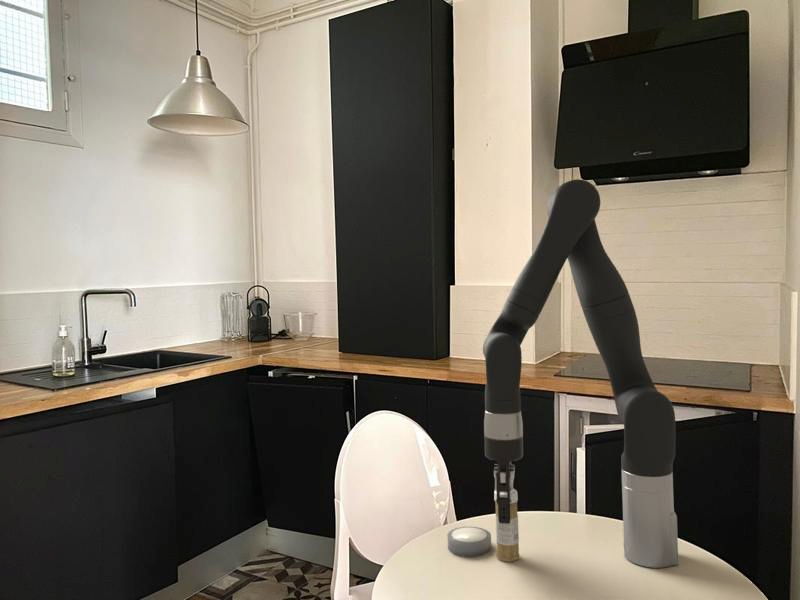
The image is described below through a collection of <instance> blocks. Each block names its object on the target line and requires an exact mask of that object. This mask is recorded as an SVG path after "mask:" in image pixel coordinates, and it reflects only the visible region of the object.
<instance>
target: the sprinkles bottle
mask: <svg viewBox="0 0 800 600" xmlns="http://www.w3.org/2000/svg"><path fill="white" fill-rule="evenodd" d="M493 494H494V495H493V496H494V498H493V500H494V503H495V536H496V551H497V552H496V557H497V559H499V560H500V561H502V562H508V563H509V562H515V561H517V560H519V559H520V550H519V549H520V547H519V545H520V544H519V540H520V536H519V532H520V531H519V516H518V500H519V499H518V497H519V495H518V491H517V490H516V489H515V488H513V492H512V493H511V494H510V500H511V502H510V523H509V524H505V523H499V518H498V504H497V502H496V499H497V492H496V491H495V490H494V492H493ZM500 497H506V498H507V493H505V492H501V493H500Z"/></svg>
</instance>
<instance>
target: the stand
mask: <svg viewBox="0 0 800 600" xmlns="http://www.w3.org/2000/svg"><path fill="white" fill-rule="evenodd" d="M446 536H447V549H448V551H449V552H450V553H451V554H454V555H456V556H461V557H467V558H470V557H471V558H473V557H479V556H480V557H481V556H484V555H486V554H488V553H489V552H491V550H492V534H491V532H490V531H488V530H487V529H484V528H482V527H477V526H460V527H455V528H453V529H451V530H450V531H448V533H447V535H446Z"/></svg>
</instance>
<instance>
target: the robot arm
mask: <svg viewBox="0 0 800 600" xmlns="http://www.w3.org/2000/svg"><path fill="white" fill-rule="evenodd" d="M600 196H601V195H600V193H599V190H598V189H597V188H596V186H595V185H593V184H592V183H591V182H590V181H587V180H585V179H579V178H577V179H571V180H567V181H566V182H564V183H562V184H561V185H559V186H557V188H556V189H555V190H554V191H553V192H552V193H551V194H550V196H549V198H548V200H547V205H546V212H547V216H548V219H547V221H546V225H545V227H544V229H543V233H542V234H541V236H540V239H539V241H538V243H537V245H536V246H535V249H534V250H533V252H532V254H531V256H530V257H529V259H528V260H527V262H526V263H525V265H524V267H522V269H521V272H520V273H519V274H518V277H517V278H516V280H515V282H514V284H513V286H512V288H511V290H510V292H509V294H508V296H507V297H506V300H505V302H504V305H503V307H502V310H501V312H500V314H499V316H498V317H497V319H496V320H495V322H494V323H493V325H492V326H491V328H490V330H489V331H488V334H487V335H486V338H485V339H484V341H483V345H482V354H483V356H484V358H485V359H484V361H485V374H486V375H485V376H486V377H485V378H486V384H485V389H484V419H483V428H484V429H483V433H484V435H483V438H484V456H485V458H487V459H488V460H491V461H495V462H497V463H494V467H493V476H494V491H496V492H497V499H496V502H497V504H498V518H499V523H505V524H509V523H510V502H511V500H510V494H511V493H512V492H513V489H514V481H515V470H516V469H515V464H512V461H513V462H515V461H519V460H521V459H522V458H523V456H524V435H523V434H524V429H523V428H524V424H523V417H522V405H521V404H522V403H521V402H522V399H521V385H520V383H521V376H522V361H523V358H522V354H523V353H522V347H521V345H522V344H523V342H524V339H525V337H526V335H527V334H528V331H529V330H530V329H531V328H532V327H533V326H535V324H536V323H537V320H538V319H539V317H540V314H541V312H542V311H543V308H544V307H545V304H546V303H547V301H548V298H549V296H550V294H551V293H552V290H553V288H554V286H555V284H556V281H557V279H558V277H559V275H560V273H561V271H562V269H563V267H564V265H565V263H566V261H568V265H569V267H570V268H569V269H570V271H571V272H570V273H571V276H572V280H573V283H574V286H575V287H574V288H575V290H576V293H577V297H578V300H579V303H580V307H581V309H582V312H583V315H584V318H585V321H586V324H587V327H588V329H589V331H590V334H591V336H592V339H593V340H594V343H595V346H596V349H597V350H598V353H599V355H600V357H601V358H602V361H603V363H604V365H605V368H606V371H607V374H608V378H609V383H610V386H611V390H612V394H613V399H614V404H615V409H616V412H617V416H618V418H619V420H621V422H622V423H623V435H624V437H623V441H624V442H623V445H624V446H623V452H622V454H621V457H620V458H621V459H620V460H621V461H620V462H621V463H620V464H621V465H620V466H621V495H622V496H621V497H622V523H623V529H622V530H623V551H624V552H623V554H624V557H625V559H626V560H628V561H629V562H630V563H633V564H635V565H639V566H642V567H647V568H656V569H657V568H658V569H659V568H660V569H661V568H668V567H671V566H679V547H678V546H679V545H678V542H679V541H678V516H677V514H676V512H675V507H674V504H675V503H674V477H673V476H674V473H673V472H674V471H673V469H674V467H673V464H674V460H675V457H676V442H677V441H676V438H677V437H676V433H677V431H676V429H677V428H676V414H675V413H676V411H675V409H674V405H673V403H672V402H671V400H670V399H669V398H668V397H667V396H666V395H665V394H664V393H662V392H660V391H658V389H657V387H656V386H655V383H654V381H653V379H652V377H651V375H650V373H649V371H648V368H647V365H646V363H645V361H644V357H643V354H642V353H643V352H642V347H641V337H640V328H639V321H638V317H637V314H636V310H635V307H634V304H633V301H632V298H631V295H630V293H629V290H628V288H627V285H626V283H625V281H624V279H623V277H622V275H621V274H620V272H619V271H618V268H617V267H616V266H615V264H614V263H613V261H612V260H611V258H610V257H609V255H608V252H606V250H605V248H604V246H603V243H602V240H601V237H600V234H599V230H598V227H597V222H596V218H597V216H598V214H599V211H600V209H601V208H600V207H601V197H600ZM501 492H505V493H507V498H506V497H500V493H501Z"/></svg>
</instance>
